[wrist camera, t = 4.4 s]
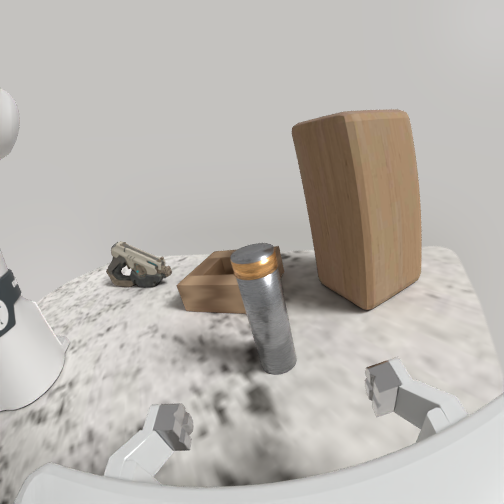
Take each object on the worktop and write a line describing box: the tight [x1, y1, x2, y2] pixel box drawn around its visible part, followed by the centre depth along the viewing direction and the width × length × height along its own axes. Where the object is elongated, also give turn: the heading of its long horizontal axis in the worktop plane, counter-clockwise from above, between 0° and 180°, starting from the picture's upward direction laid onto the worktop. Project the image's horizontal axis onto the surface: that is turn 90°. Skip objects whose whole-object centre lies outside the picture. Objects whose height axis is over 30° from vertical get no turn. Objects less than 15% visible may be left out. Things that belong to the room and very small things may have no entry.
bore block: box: [177, 246, 284, 314], centre depth 39 cm, size 11×11×4 cm
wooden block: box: [292, 110, 421, 310], centre depth 29 cm, size 10×10×20 cm
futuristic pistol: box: [106, 241, 172, 287], centre depth 49 cm, size 2×15×10 cm, turn 72°
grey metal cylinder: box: [230, 243, 297, 374], centre depth 22 cm, size 3×3×11 cm
